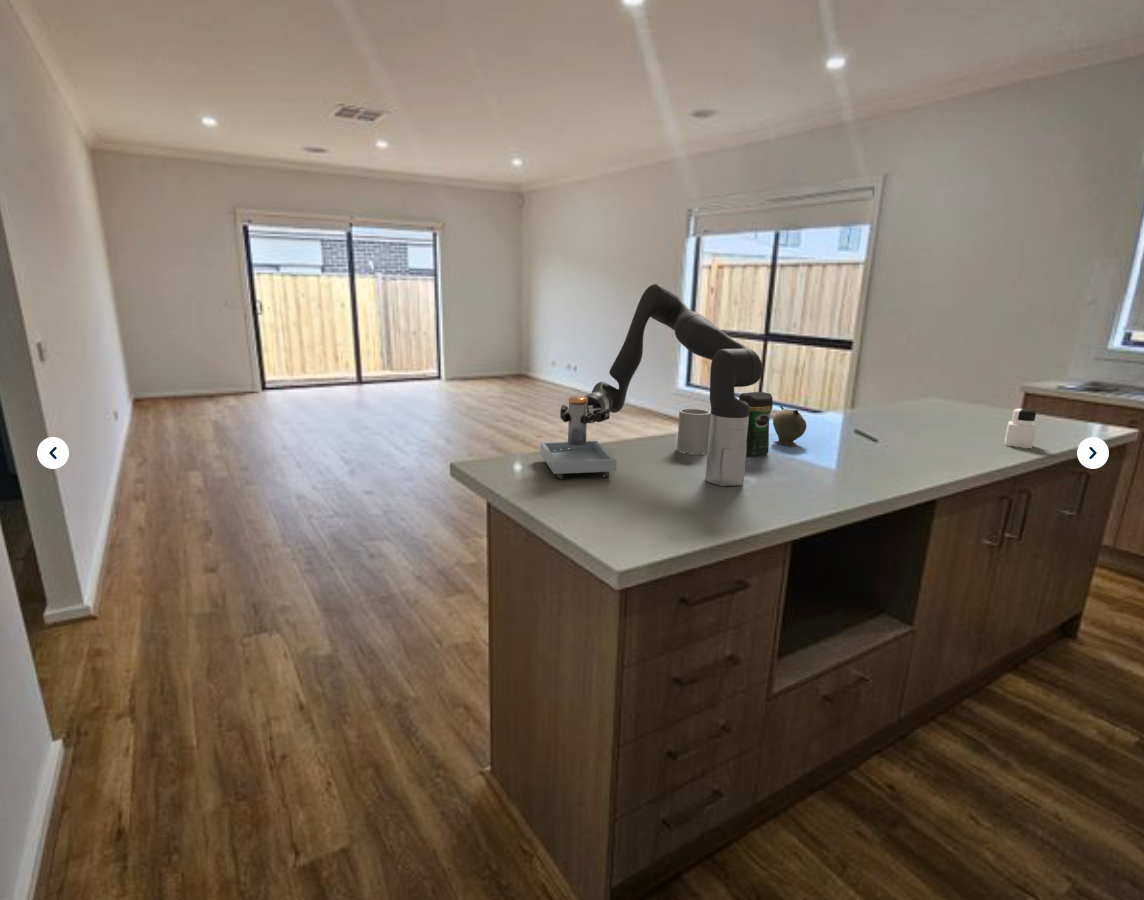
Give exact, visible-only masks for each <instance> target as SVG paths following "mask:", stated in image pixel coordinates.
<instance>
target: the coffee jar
mask: <svg viewBox="0 0 1144 900" xmlns="http://www.w3.org/2000/svg"><path fill="white" fill-rule="evenodd" d="M773 399H774V398H773V396H772V393H768V392H764V391H752V392H742V393H741V394H739V397H738V400H741V401H743V402H746V403H748V404H749V406H750V411H749V421H748V431H747V441H746V449H747V452H746V457H747V458H748V457H750V458H752V457H753V458H755V457H762V456H766V455H768V454H769V450H770V447H769V446H770V416H771V412H772V410H773V407H774V406H773Z"/></svg>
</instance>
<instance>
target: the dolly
mask: <svg viewBox="0 0 1144 900" xmlns="http://www.w3.org/2000/svg"><path fill="white" fill-rule="evenodd" d="M568 448H570V449H568ZM539 449H540V455H541V456H542V459H544V461H545V462H546V464H547V466H548V467H549V469H550V470H551V473H552V474H553V475H555V474H556V478H557V477H558V478H563V479H564V474H581V473H582V474H583V473H602V476H603V475H604V476H609V477H610V472H616V471H617V459H616V458H615V457H614V456H613V455H612V454H611V453H610V452H609V451H607V449H606V448H605V447H603V446H602V444H600V442H598V441H597V440H586V444H585V445H580V446H575V445H570V444H568V441H553V442H552V441H550V442H549V441H548V442H547V441H546V442H540V448H539ZM560 449H562V450H560ZM554 450H556V451H554Z"/></svg>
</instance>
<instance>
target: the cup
mask: <svg viewBox="0 0 1144 900" xmlns="http://www.w3.org/2000/svg"><path fill="white" fill-rule="evenodd" d="M710 416H711V410H706V409H700V408H682V409H679V411H678V425H677V426H678V428H677V439H676V440H677V441H676V443H677V444H676V451H677V450H679V451H681V452H685V453H693V454H700V455H704V454H703V453H706V454H707V452H708V440H709V428H710ZM679 451H678V452H679ZM681 452H680V453H681ZM685 453H684V454H685ZM693 454H692V455H693Z"/></svg>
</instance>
